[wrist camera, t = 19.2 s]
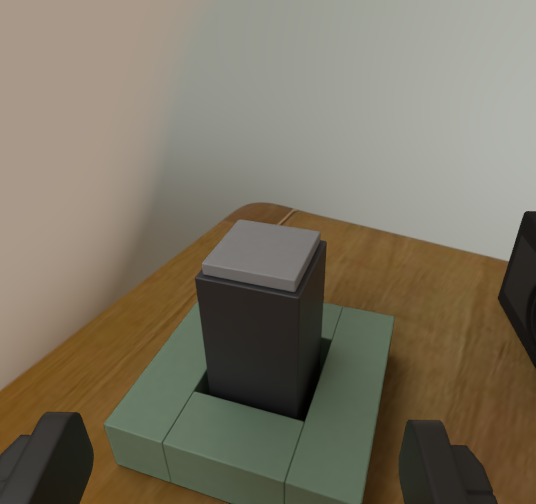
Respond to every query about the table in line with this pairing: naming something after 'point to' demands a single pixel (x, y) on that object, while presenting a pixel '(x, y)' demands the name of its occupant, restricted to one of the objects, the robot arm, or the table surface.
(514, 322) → the digital camera
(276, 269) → the dark grey tall block
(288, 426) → the frame
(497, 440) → the table surface
